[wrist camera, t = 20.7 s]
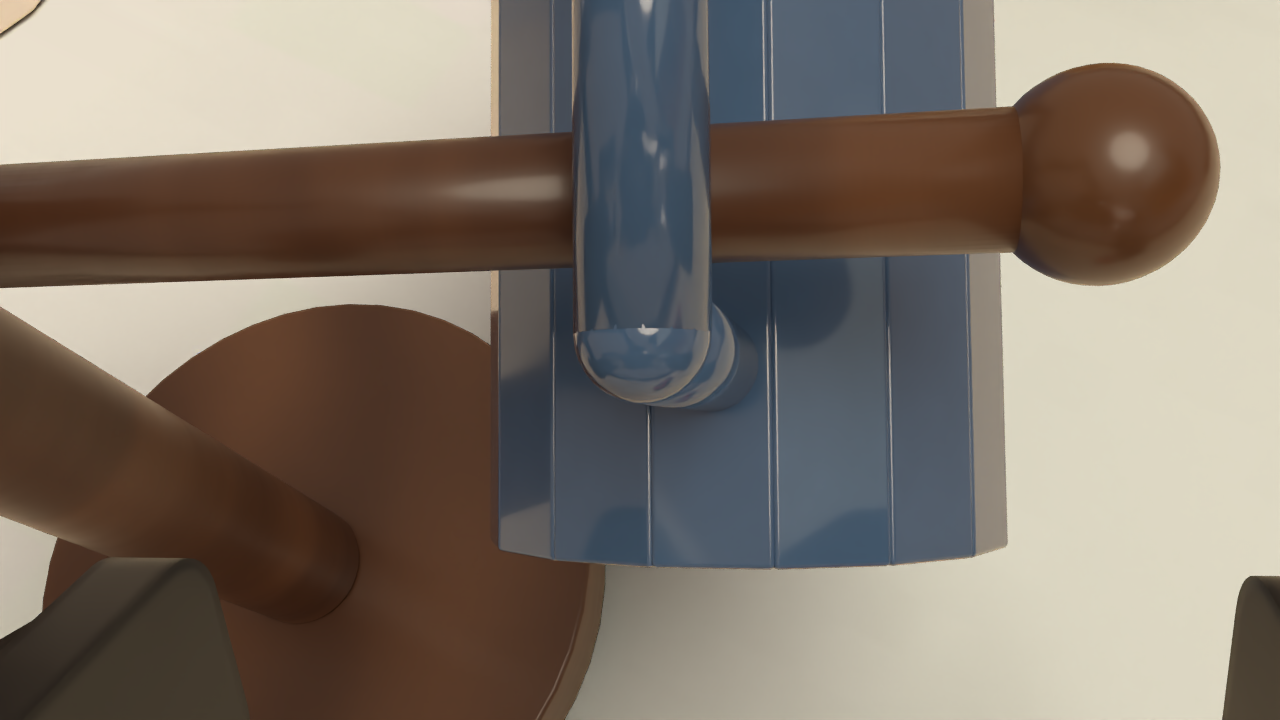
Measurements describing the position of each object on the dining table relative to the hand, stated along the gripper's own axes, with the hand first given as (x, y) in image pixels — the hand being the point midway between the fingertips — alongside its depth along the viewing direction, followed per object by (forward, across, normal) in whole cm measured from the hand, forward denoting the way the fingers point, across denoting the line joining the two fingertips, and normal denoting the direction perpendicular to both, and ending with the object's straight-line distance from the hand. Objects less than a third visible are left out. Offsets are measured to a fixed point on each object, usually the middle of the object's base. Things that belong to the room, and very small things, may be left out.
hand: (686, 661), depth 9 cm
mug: (+7, 0, -8) cm, 10 cm away
